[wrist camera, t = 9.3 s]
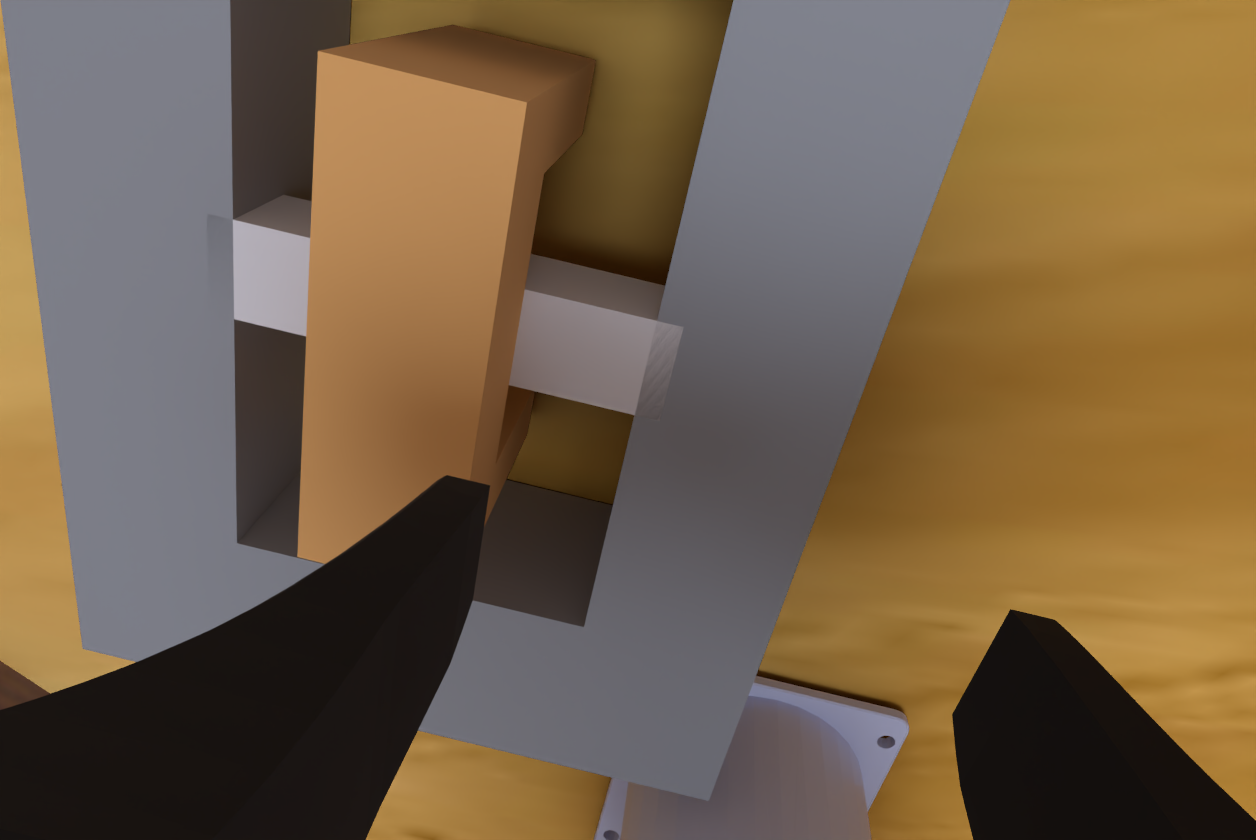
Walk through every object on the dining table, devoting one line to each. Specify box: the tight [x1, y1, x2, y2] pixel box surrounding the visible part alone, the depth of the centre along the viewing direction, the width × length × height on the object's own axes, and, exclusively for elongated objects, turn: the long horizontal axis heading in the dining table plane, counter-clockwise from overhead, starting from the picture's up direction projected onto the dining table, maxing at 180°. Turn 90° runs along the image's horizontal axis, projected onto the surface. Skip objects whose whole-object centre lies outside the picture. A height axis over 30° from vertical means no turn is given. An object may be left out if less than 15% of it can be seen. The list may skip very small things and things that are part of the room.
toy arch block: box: [297, 25, 596, 564], centre depth 17 cm, size 9×3×6 cm, turn 168°
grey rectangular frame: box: [1, 0, 1010, 801], centre depth 19 cm, size 22×16×5 cm
